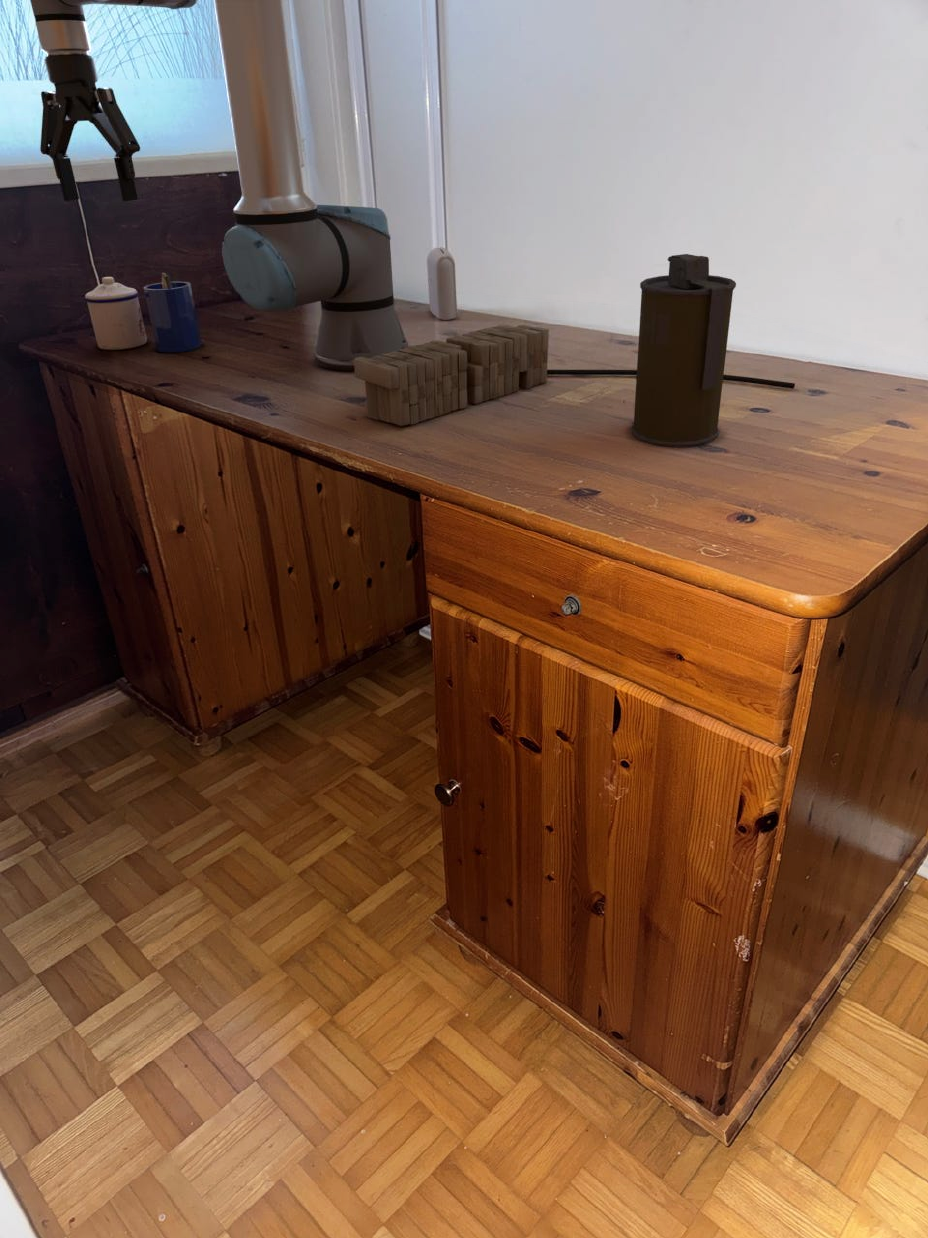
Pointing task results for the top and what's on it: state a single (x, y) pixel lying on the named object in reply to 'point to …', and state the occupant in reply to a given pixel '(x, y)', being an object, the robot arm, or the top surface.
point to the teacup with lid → (116, 316)
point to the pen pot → (173, 317)
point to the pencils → (166, 281)
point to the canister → (681, 354)
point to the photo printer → (442, 284)
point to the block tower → (453, 372)
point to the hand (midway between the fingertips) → (100, 200)
